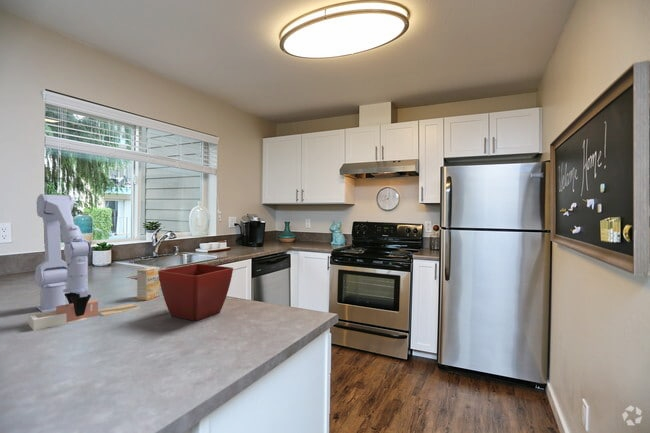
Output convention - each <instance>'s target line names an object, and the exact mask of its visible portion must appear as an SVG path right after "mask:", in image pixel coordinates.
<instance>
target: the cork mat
mask: <svg viewBox="0 0 650 433" xmlns="http://www.w3.org/2000/svg"><path fill="white" fill-rule="evenodd" d="M137 309H141V307H140V306H137V305H136V304H133V303H127V304H123V305H117V306H113V307H112V306H111V307H106V308H102V309H98V312H99V313H101V314H103V315H104V316H109V315H113V314H119V313H123V312H128V311H134V310H137ZM104 316H103V317H104Z"/></svg>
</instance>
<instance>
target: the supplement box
mask: <svg viewBox="0 0 650 433" xmlns="http://www.w3.org/2000/svg"><path fill="white" fill-rule="evenodd" d="M159 270H161V268H160V267H159V266H152V267H151V266H150V267H146V268H142V269H137V274H136V275H137V279H136V280H137V281H136V283H137V284H136V290H137V291H136V293H137V294H136V300H137V301H144V302H145V301H146V302H147V301H149V300H151V299H155V298H157V297H160V289H161V285H160V281H159V275H158V271H159Z"/></svg>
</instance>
